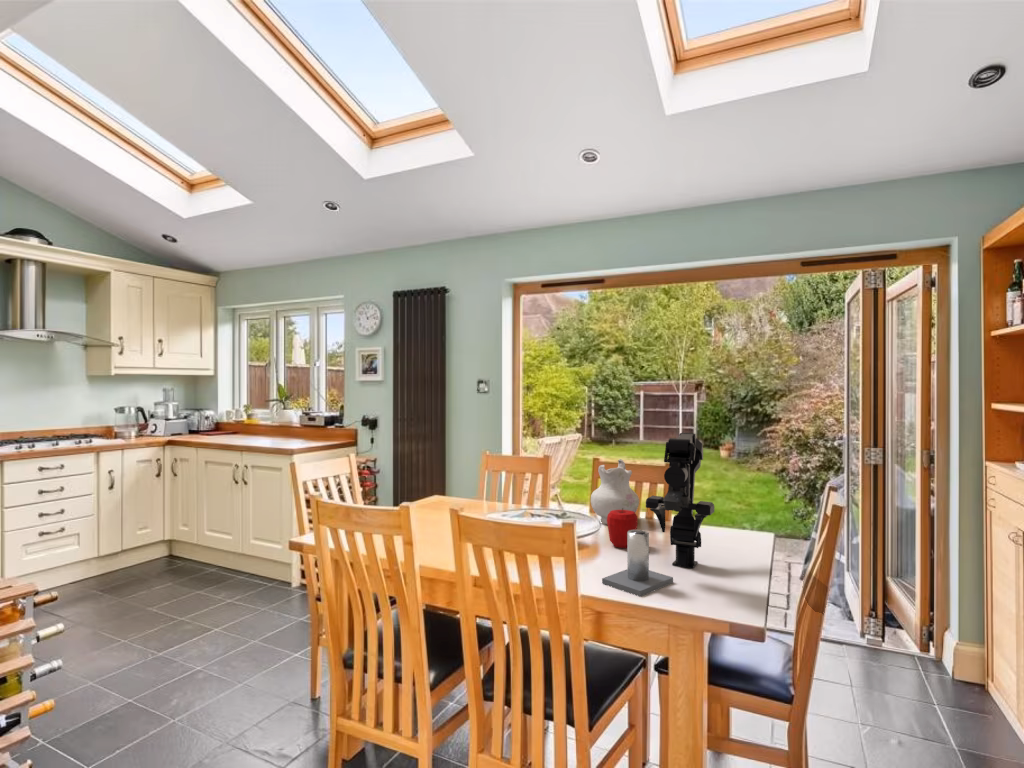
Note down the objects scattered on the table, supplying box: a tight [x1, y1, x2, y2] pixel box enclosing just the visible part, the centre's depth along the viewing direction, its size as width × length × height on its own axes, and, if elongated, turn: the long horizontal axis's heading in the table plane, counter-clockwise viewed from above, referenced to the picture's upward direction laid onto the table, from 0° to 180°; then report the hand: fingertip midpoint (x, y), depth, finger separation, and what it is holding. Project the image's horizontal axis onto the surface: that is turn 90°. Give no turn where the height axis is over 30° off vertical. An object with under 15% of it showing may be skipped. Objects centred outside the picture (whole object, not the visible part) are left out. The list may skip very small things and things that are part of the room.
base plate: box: [601, 569, 674, 597], centre depth 162 cm, size 16×13×2 cm
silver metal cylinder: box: [626, 529, 650, 581], centre depth 162 cm, size 6×6×13 cm
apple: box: [607, 508, 639, 549], centre depth 199 cm, size 10×10×14 cm
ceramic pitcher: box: [590, 458, 640, 526], centre depth 234 cm, size 22×20×25 cm
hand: (679, 534), depth 166 cm, fingers open, 9 cm apart
